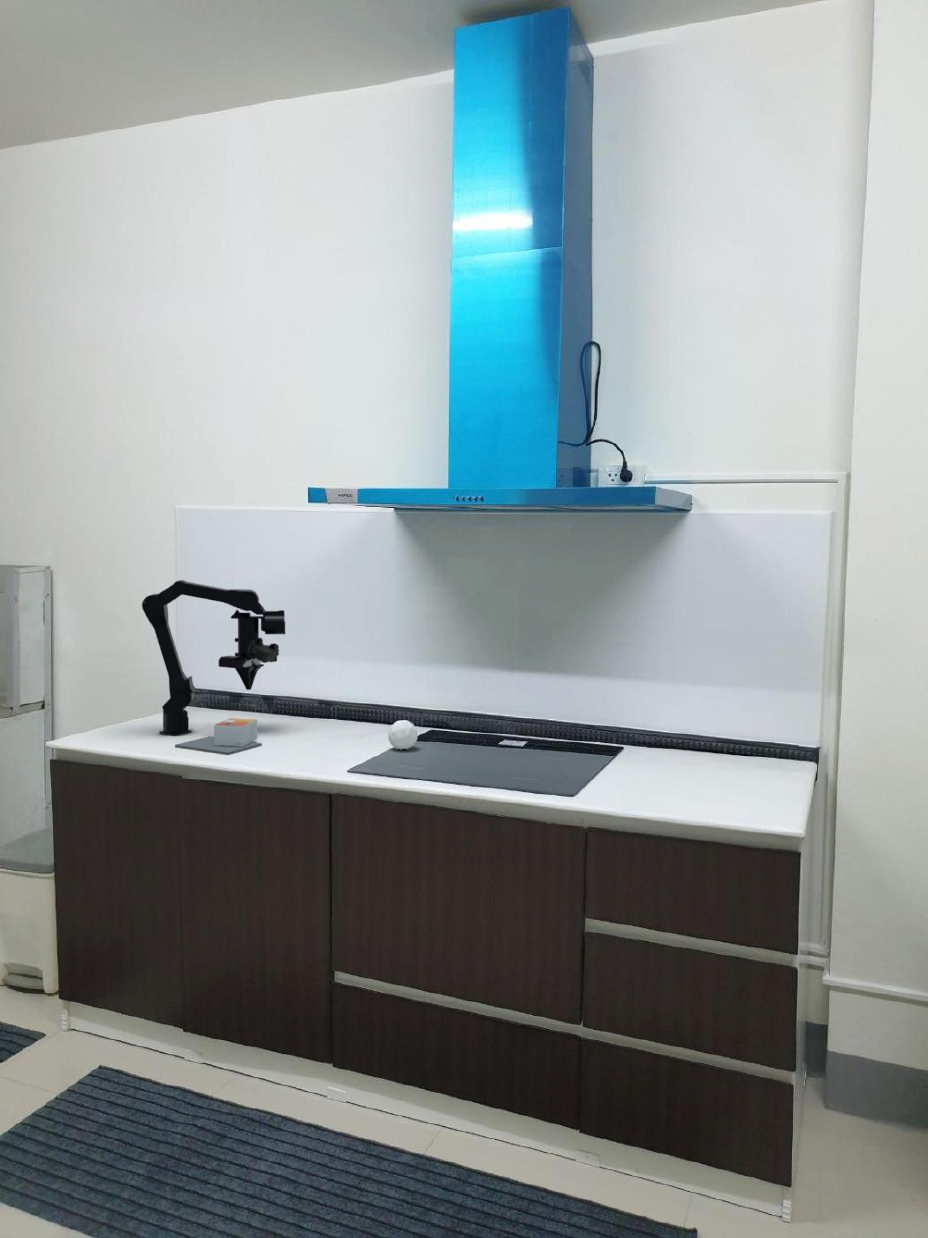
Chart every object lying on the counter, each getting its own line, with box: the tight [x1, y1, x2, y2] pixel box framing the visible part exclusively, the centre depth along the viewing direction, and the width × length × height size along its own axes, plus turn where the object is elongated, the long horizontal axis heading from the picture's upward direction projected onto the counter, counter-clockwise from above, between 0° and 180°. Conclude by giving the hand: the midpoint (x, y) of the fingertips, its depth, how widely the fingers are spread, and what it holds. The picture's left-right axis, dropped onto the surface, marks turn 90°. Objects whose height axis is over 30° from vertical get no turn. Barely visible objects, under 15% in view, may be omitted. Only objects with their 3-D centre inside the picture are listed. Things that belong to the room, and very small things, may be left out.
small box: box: [213, 717, 258, 747], centre depth 253 cm, size 8×6×10 cm
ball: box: [387, 719, 418, 751], centre depth 251 cm, size 8×8×8 cm
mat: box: [174, 735, 263, 756], centre depth 251 cm, size 18×13×1 cm
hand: (248, 689), depth 270 cm, fingers closed
